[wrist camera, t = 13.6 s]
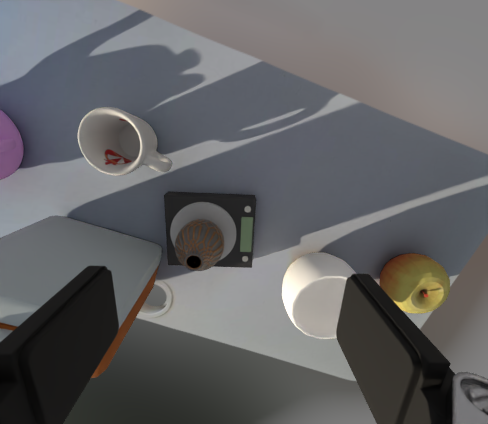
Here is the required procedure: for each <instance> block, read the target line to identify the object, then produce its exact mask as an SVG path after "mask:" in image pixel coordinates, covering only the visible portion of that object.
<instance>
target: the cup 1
mask: <svg viewBox="0 0 488 424" xmlns="http://www.w3.org/2000/svg"><path fill="white" fill-rule="evenodd" d="M78 143H79V147H80V149H81V152H82V154H83V155H84V157H85V158H86V160H87V161H88V162H89V163H90V164H91V165H92V166H93V167H95V168H96V169H97V170H99V171H101V172H103V173H106V174H109V175H125V174H128V173H131V172H133V171H134V170H136V169H137V168H139V167H140V166H142V165H147V166H149V167H150V168H152V169H155V170H157V171H160V172H167V171H169V170H170V168H171V166H172V162H171V160H170V159H168V158H167V157H166V156H164V155H162V154H160V153H159V152H157V151H156V149H157V137H156V134H155V132H154V130H153V129H152V127H151V126H150V125H149V124H148V123H147V122H145V121H144V120H142V119H140V118H138V117H136V116H134V115H132V114H129V113H127V112H125V111H122V110H120V109H117V108H113V107H101V108H97V109H94V110H92V111H90V112H89V113H88V114H87V115H86V116H85V117H84V118H83V119H82V121H81V123H80V126H79V129H78Z"/></svg>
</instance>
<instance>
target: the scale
mask: <svg viewBox="0 0 488 424" xmlns="http://www.w3.org/2000/svg"><path fill="white" fill-rule="evenodd" d="M164 201H165V218H166V236H167V253H168V265H182V264H181V263H180V261H179V260H178V258H177V256H176V252H175V241H176V237H177V235H178V233H179V231H180V230H181V229H182V228H183V226H185V225H186V224H187V223H189V222H191V221H193V220H197V219H205V220H209V221H211V222H213V223H215V224H216V225H217V226H218V227H219V228H220V230H221V231H222V233H223V236H224V250H223V254H222V256H221V258H220V259H219V261H218V262H217V263H216V264H215V265H214V266H218V267H250V268H252V255H253V239H254V223H255V207H256V197H255V195H239V194H214V193H189V192H168V193H166V194H165V195H164Z"/></svg>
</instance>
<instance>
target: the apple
mask: <svg viewBox="0 0 488 424" xmlns="http://www.w3.org/2000/svg"><path fill="white" fill-rule="evenodd" d="M380 287H381V288H382V289H383V290H384V291H385V293H386V294H387V295H388V296H389V297H390V298H391V299H392V300H393V301H394V302H395V303H396V304H397V306H398V307H399V308H400V309H401V310H403V311H406V312H409V313H427V312H430V311H433V310H435V309H436V308H438V307H439V306H441V304H442V303H443V302H444V301H445V300H446V299H447V297H448V294H449V292H450V280H449V277H448V275H447V273H446V271H445V270H444V268H443V267H442V266H441V265H440V264H438V263H437V262H436V261H434V260H432V259H431V258H429V257H427V256H425V255H421V254H415V253H408V254H402V255H399V256H397V257H395V258H393V259H391V260H390V261H389V262H388V263H387V264H385V266H384V268H383V270H382V271H381V273H380Z"/></svg>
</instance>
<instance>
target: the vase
mask: <svg viewBox="0 0 488 424" xmlns="http://www.w3.org/2000/svg"><path fill="white" fill-rule="evenodd" d="M223 250H224V236H223V233H222V231H221V230H220V228H219V227H218V226H217V225H216V224H215V223H213V222H211V221H209V220H205V219H197V220H193V221H191V222H189V223H187V224H186V225H185V226H183V228H182V229H181V230H180V231H179V233H178V235H177V237H176V241H175V252H176V256H177V258H178V260H179V261H180V263H181V264H182V265H183V266H185V267H186V268H188V269H190V270H193V271H202V270H206V269H209V268H211V267H212V266H214V265H215V264H216V263H217V262H218V261H219V259H220V258H221V256H222V254H223Z"/></svg>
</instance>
